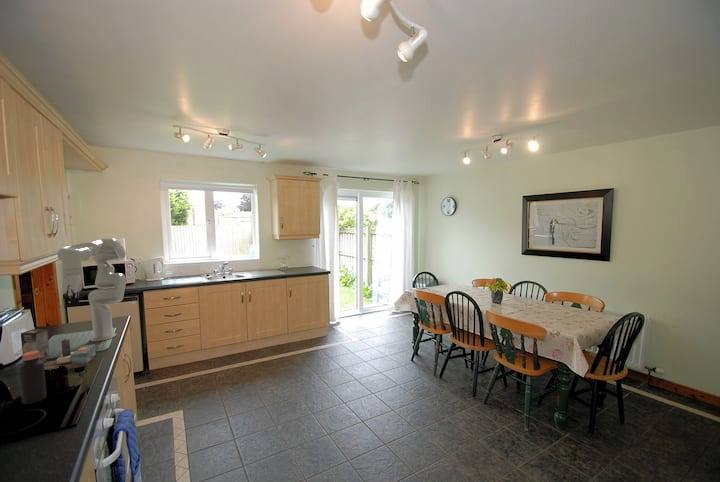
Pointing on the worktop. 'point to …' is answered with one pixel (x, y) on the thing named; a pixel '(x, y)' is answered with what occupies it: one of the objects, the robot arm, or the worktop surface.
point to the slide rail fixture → (77, 359)
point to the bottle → (32, 378)
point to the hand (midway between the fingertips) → (75, 304)
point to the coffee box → (35, 341)
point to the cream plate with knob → (65, 352)
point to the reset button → (83, 348)
